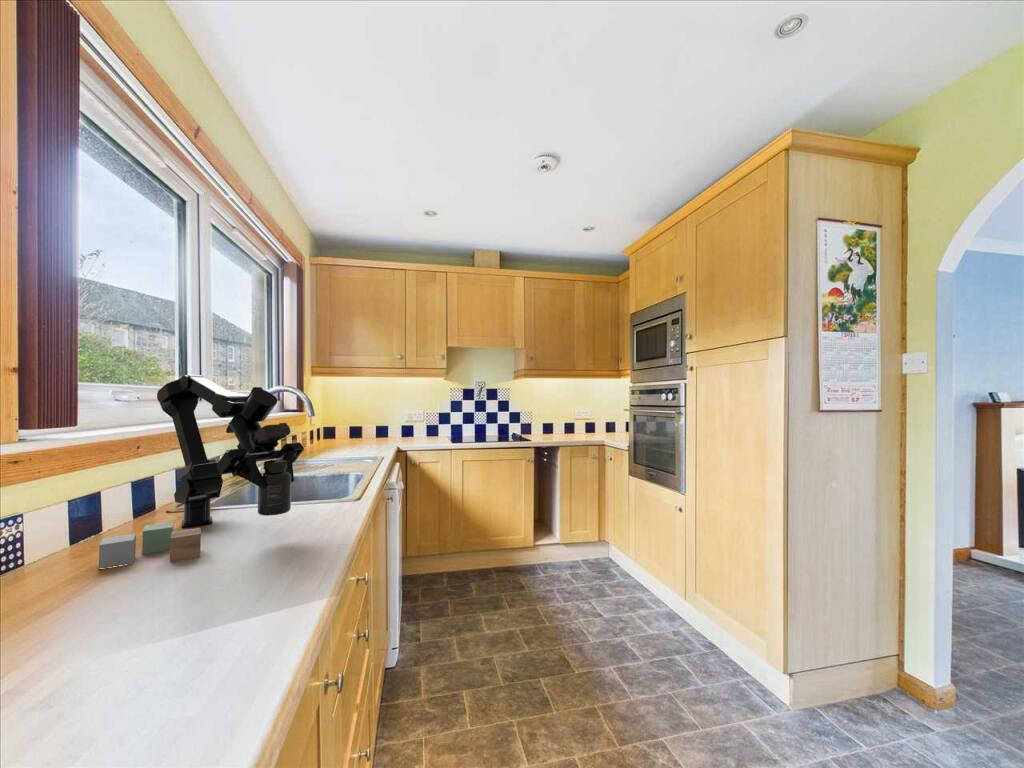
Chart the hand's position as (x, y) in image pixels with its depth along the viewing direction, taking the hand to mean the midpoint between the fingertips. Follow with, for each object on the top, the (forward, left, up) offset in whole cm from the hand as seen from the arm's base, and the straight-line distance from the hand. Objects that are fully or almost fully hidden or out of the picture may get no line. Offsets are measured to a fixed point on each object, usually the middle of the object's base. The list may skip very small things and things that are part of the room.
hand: (279, 484), depth 100 cm
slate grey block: (-4, -28, -13) cm, 31 cm away
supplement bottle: (-1, -1, -7) cm, 7 cm away
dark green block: (-10, -22, -13) cm, 28 cm away
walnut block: (-1, -17, -13) cm, 22 cm away
